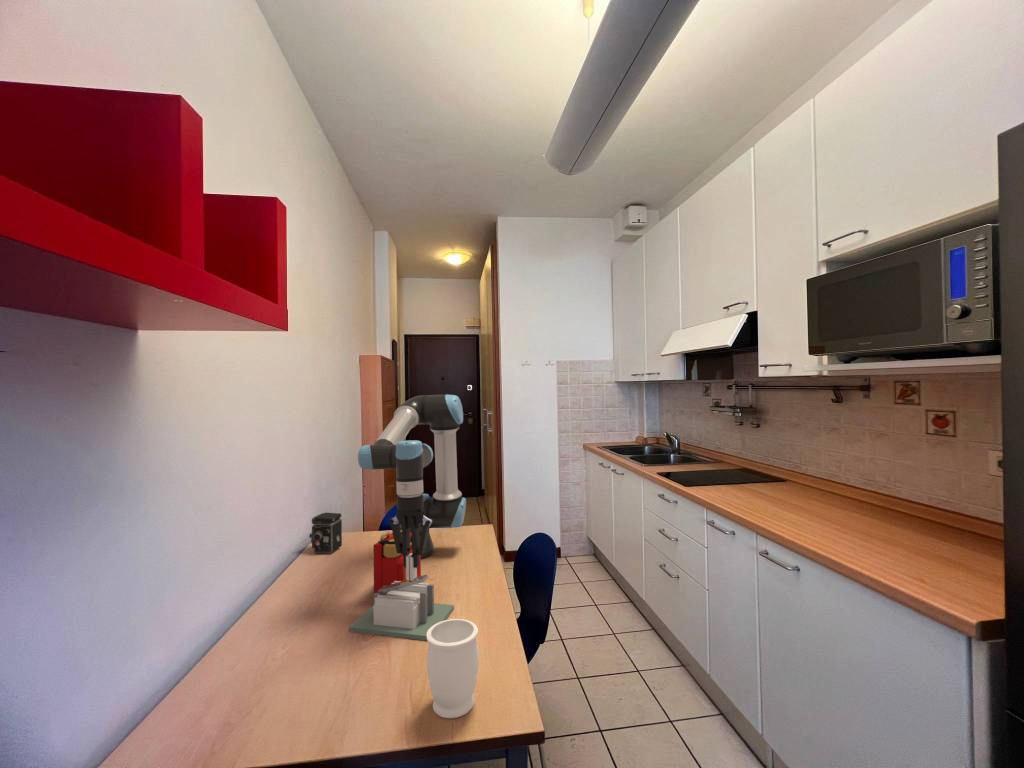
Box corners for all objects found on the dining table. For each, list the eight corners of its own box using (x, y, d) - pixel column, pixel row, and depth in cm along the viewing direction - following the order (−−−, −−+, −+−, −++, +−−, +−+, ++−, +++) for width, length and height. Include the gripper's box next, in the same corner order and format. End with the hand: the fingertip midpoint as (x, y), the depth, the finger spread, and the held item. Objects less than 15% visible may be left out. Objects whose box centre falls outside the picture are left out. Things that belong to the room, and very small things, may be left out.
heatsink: (348, 631, 117) (348, 596, 117) (381, 602, 133) (381, 571, 134) (430, 641, 111) (430, 604, 112) (454, 609, 128) (453, 577, 128)
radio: (402, 604, 131) (401, 539, 132) (372, 602, 134) (371, 537, 134) (422, 582, 147) (422, 523, 148) (395, 580, 149) (395, 522, 150)
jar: (434, 730, 82) (433, 650, 82) (422, 696, 91) (421, 624, 91) (486, 713, 86) (485, 637, 86) (470, 682, 95) (469, 613, 96)
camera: (320, 546, 185) (320, 511, 185) (343, 547, 184) (343, 511, 184) (305, 555, 175) (305, 518, 175) (330, 556, 173) (329, 518, 174)
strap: (377, 598, 123) (374, 590, 123) (383, 592, 126) (381, 585, 126) (424, 585, 119) (422, 577, 120) (429, 580, 123) (427, 572, 123)
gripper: (382, 497, 121) (383, 582, 120) (426, 498, 118) (428, 585, 117) (394, 491, 128) (396, 572, 127) (437, 492, 125) (439, 574, 124)
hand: (411, 578), depth 122 cm, fingers closed, pressing on strap
